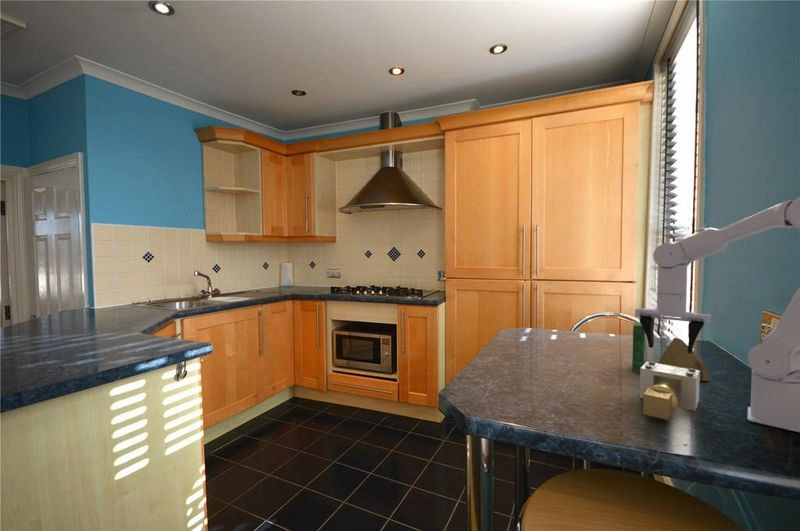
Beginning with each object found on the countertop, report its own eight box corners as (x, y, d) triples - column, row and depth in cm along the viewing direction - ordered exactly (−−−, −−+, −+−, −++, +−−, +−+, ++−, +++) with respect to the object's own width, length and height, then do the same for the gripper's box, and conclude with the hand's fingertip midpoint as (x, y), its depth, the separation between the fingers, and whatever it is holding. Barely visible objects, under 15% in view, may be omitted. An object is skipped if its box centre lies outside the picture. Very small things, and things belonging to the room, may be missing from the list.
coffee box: (633, 364, 111) (634, 320, 111) (645, 366, 109) (646, 322, 109) (631, 371, 105) (632, 325, 104) (643, 373, 103) (644, 326, 102)
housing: (698, 401, 84) (699, 368, 83) (695, 411, 78) (696, 376, 78) (646, 390, 90) (646, 360, 90) (639, 398, 85) (640, 366, 85)
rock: (723, 373, 96) (688, 357, 106) (710, 348, 95) (676, 334, 104) (690, 398, 96) (658, 379, 106) (676, 374, 94) (645, 358, 104)
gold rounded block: (650, 399, 83) (650, 374, 82) (681, 407, 79) (682, 380, 79) (638, 416, 74) (639, 388, 74) (672, 425, 70) (673, 396, 70)
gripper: (632, 292, 92) (631, 347, 92) (709, 297, 82) (707, 358, 82) (639, 290, 97) (637, 342, 97) (711, 294, 87) (710, 352, 87)
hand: (670, 349), depth 90 cm, fingers open, 7 cm apart
